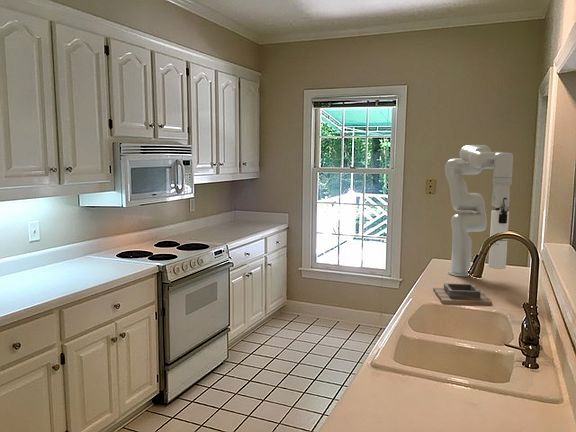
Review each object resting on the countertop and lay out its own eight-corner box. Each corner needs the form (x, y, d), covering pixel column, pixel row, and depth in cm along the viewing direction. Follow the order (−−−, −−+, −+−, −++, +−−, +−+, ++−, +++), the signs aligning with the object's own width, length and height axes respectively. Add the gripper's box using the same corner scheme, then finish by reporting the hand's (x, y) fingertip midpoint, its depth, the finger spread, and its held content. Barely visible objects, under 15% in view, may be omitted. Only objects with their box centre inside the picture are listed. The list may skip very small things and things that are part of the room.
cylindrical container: (507, 269, 215) (511, 212, 212) (489, 268, 217) (493, 211, 213) (503, 265, 222) (507, 210, 219) (486, 264, 224) (490, 209, 220)
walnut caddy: (433, 290, 225) (433, 280, 225) (478, 292, 223) (479, 282, 223) (442, 303, 206) (442, 293, 205) (492, 305, 203) (492, 294, 203)
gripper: (487, 180, 223) (485, 219, 226) (499, 182, 206) (497, 224, 209) (504, 180, 223) (502, 219, 225) (518, 182, 206) (515, 225, 208)
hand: (499, 221), depth 217 cm, fingers closed on cylindrical container, 7 cm apart
